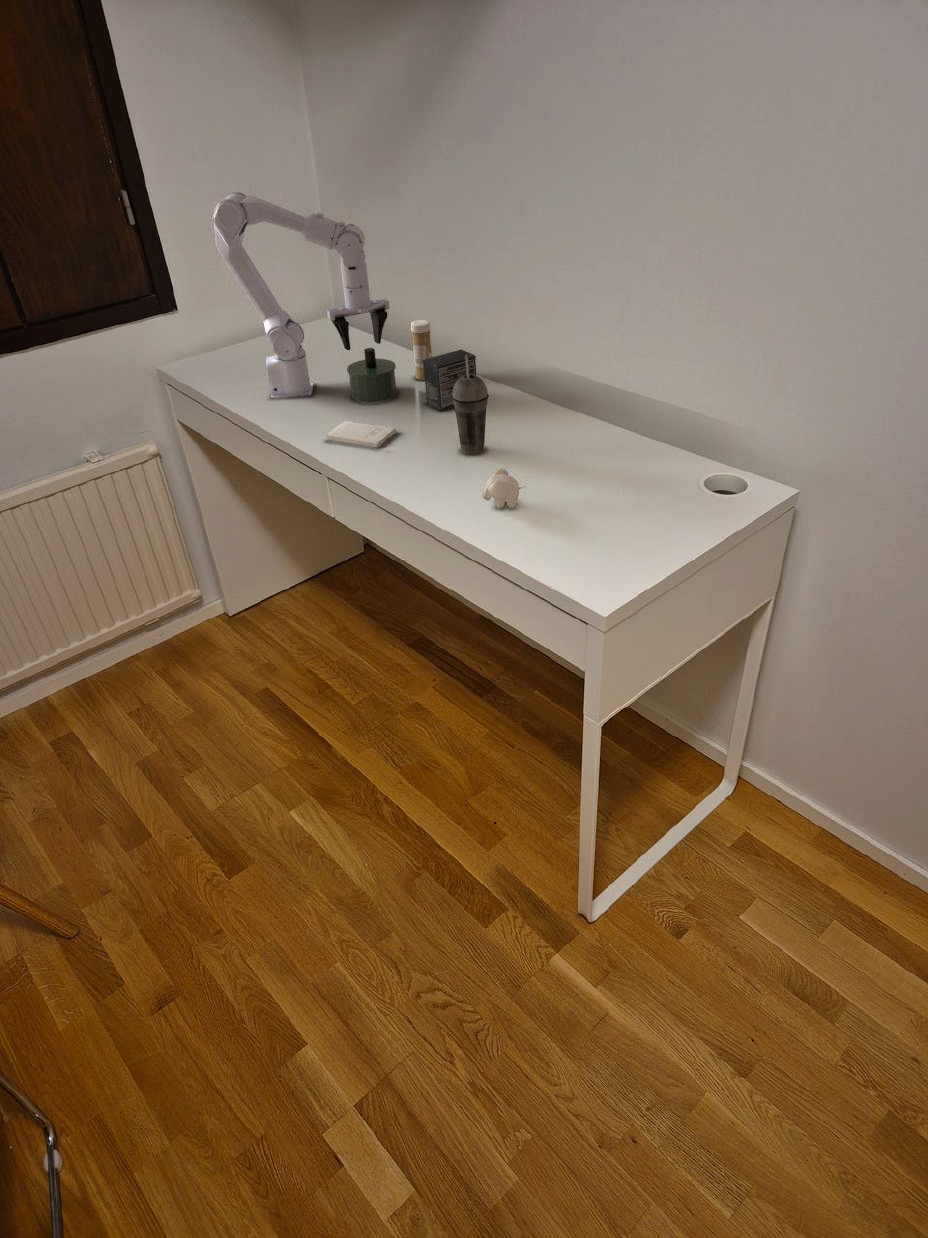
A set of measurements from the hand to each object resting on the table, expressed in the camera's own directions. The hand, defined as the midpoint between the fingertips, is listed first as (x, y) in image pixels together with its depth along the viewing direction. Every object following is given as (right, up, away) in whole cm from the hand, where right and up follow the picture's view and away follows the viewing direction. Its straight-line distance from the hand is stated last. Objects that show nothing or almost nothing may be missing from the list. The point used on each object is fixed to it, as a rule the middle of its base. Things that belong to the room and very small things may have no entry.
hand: (362, 345), depth 201 cm
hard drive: (+2, -25, -17) cm, 31 cm away
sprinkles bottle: (+14, -5, +11) cm, 18 cm away
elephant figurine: (+31, -43, -45) cm, 69 cm away
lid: (+2, -6, -2) cm, 7 cm away
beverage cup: (+25, -29, -25) cm, 46 cm away
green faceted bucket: (+3, -11, +2) cm, 12 cm away
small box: (+21, -14, -3) cm, 25 cm away
